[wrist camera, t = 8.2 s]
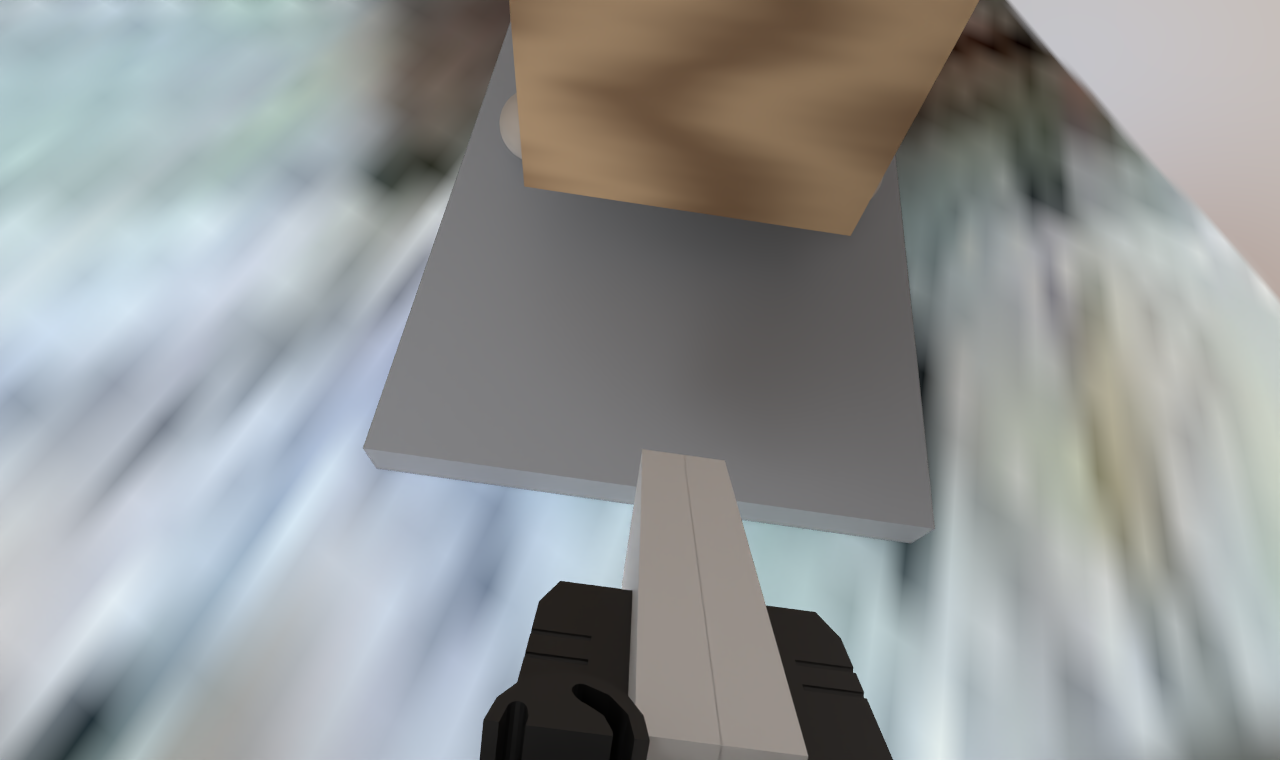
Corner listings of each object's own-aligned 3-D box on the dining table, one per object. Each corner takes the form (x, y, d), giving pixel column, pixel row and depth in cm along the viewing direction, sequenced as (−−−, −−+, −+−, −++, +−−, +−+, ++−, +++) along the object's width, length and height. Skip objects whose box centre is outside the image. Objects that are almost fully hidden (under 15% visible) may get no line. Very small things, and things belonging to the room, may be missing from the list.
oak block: (477, 231, 22) (413, -127, 13) (544, 15, 28) (531, -335, 19) (873, 291, 22) (1079, -19, 13) (857, 65, 28) (992, -257, 19)
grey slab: (376, 468, 20) (298, 354, 14) (524, 18, 30) (514, -150, 25) (911, 543, 20) (1045, 461, 14) (870, 73, 31) (937, -80, 25)
